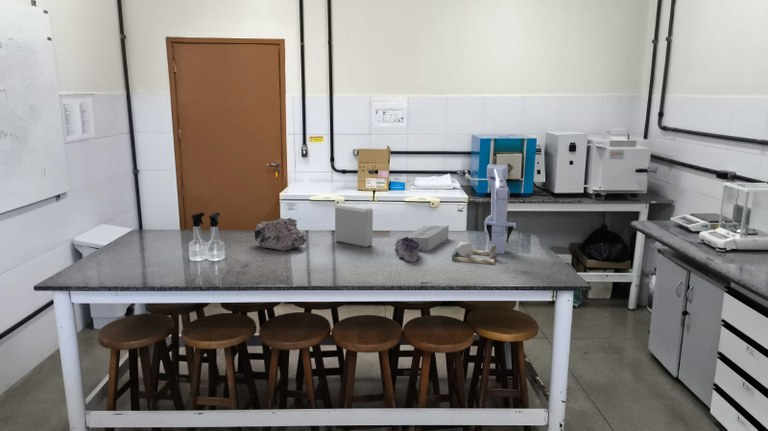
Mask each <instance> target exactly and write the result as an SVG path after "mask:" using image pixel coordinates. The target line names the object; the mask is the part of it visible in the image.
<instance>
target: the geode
mask: <svg viewBox="0 0 768 431" xmlns="http://www.w3.org/2000/svg"><path fill="white" fill-rule="evenodd" d="M404 237H405V236H404ZM402 238H403V237H402ZM402 238H398V239H397V240H396V242H395V248H394V252H395V253H396V254H397V255H398V258H399V259H401V260H402V259H403V260H404V262H407V263H413V264H414V263H416V262H417V261H419V260H420V258H419V257H420V256H419V254H420V253H419V251H420V250H419V243H418V242H416V241H415V240H413V239H412V238H408V237H405V238H403V239H402Z"/></svg>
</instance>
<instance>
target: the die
mask: <svg viewBox="0 0 768 431" xmlns="http://www.w3.org/2000/svg"><path fill="white" fill-rule="evenodd" d="M456 246H457V247H456ZM456 246H455V248H454V250H455V251H456V254H457V256H456V257H465V258H472V255H474V254H473V253H474V252H473V250H474V249H473V246H472V243H471V242H468V241H467V242H466V241H459V243H458V244H457V245H456Z"/></svg>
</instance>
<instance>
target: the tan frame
mask: <svg viewBox="0 0 768 431" xmlns="http://www.w3.org/2000/svg"><path fill="white" fill-rule="evenodd" d="M457 246H458V245H455V248H456V247H457ZM496 250H497V246H496V245H490V251H485V250H478V249H476V250H475V249H473V252H474V253H473V254H472V255H479V256H481V255H482V256H489V259H487V258H476V257H475V258H474V257H470V258H465V257H457V254H456V251H455V249H454V250H453V252H452V254H451V261H453V262H463V263H465V262H466V263H473V264H474V263H477V264H488V265H495V260H496V259H497V253H496Z"/></svg>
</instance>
